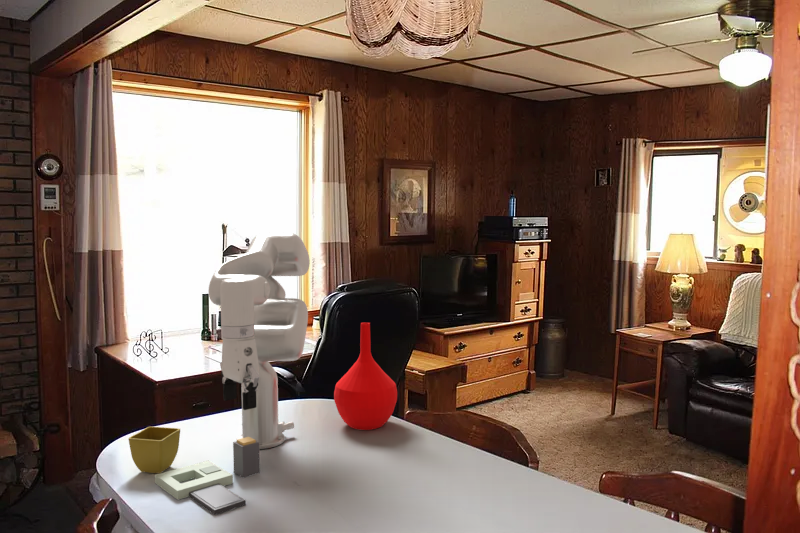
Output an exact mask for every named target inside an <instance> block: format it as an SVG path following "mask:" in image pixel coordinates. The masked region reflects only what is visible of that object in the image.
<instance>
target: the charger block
mask: <svg viewBox="0 0 800 533" xmlns="http://www.w3.org/2000/svg"><path fill="white" fill-rule="evenodd" d="M232 449H233V456H232V457H233V473H234V474H236V475H237V476H238V477H241V478H242V479H245V478H248V477H251V476H255V475H257V474H260V473H261V470H260V469H261V467H260V449H259V442H257V441H256V440H255V439H253V438H251V437H245V438H241V439H237V438H236V441H233V442H232Z"/></svg>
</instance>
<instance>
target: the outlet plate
mask: <svg viewBox="0 0 800 533" xmlns="http://www.w3.org/2000/svg"><path fill="white" fill-rule="evenodd" d="M233 478H234V475H233V473H231V472H229V471H227V470H225V469H224V468H222V467H220V466H218V465H217V464H216V463H213V461H210V460H205V461H201V462H197V463H193V464H190V465H186V466H183V467H179V468H175V469H171V470H168V471H163V472H161V473H155V474H154V482H155V484H156V485H157V486H158V487H159V488H160V489H162V490H163V491H165V492H166V493H168V494H169V495H170V496H172V497H173V498H175V500H177V501H179V500H181V499H185V498H188V497H189V492H191V491H194V490H198V489H201V488H204V487H208V486H211V485H214V484H218V483H219V484H221V485H222V486H224V487H225V486H226V487H227V486H229V485H232V484H233V483H234V479H233ZM185 481H186V482H185ZM189 498H190V497H189Z"/></svg>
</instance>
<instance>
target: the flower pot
mask: <svg viewBox="0 0 800 533" xmlns="http://www.w3.org/2000/svg"><path fill="white" fill-rule="evenodd" d="M180 436H181V428H178V427H177V428H176V427H165V426H164V427H163V426H147V427H146V428H144V429H142V430H141V431H139V432H136V433H135V434H133V435H131V436H130V437H128V444H129V448H130V456H131V458H132V461H133V463H134V465H135V466H136V468H137V469H138V470H139V471H140V472H141V473H149V474H160V473H163V472H165V471H166V470H167V469H168V468H170V467H171V466H172V464H174V461H175V459H176V457H177V455H178V451H179V448H180V447H179V446H180V438H181V437H180Z"/></svg>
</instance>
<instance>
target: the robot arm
mask: <svg viewBox="0 0 800 533" xmlns="http://www.w3.org/2000/svg"><path fill="white" fill-rule="evenodd" d="M309 269H310V254H309V252H308V250H307V247H306V245H305V243H304V242H303V240H302V239H301V237H300V236H299V235H298V234H295V233H292V232H283V233H281V232H276V233H275V232H274V233H273V232H267V233H259V234H258V235H255V236H254V237H253V239H252V240H251V242H250V244H249V245H248V247H247V248H246V251H245V252H244V254H241V255H240V256H236V257H235V258H233V259H230V260H227V261H226V262H223V263H221V265H219V266H218V267H217V268H216V270H215V271H214V273H213V275H212V277H211V279H210V282H209V285H208V296H209V299H210V301H211V302H212V303H213V304H214V305H216V306H218V307H219V306H220V324H221V326H220V328H221V330H220V331H221V334H220V335H221V340H222V346H221V348H222V349H221V362H220V363H219V365H220V371H221V373H220V374H221V378H222V380H221V382H222V391H223V395H222V396H223V398H222V399H223V401H226V402H227V401H232V400H236V399H237V397H238V394H237V383H238V384H241V421H242V422H241V423H242V424H241V425H242V429H241V430H242V434H240V435H238V437H237V438H236V440H237V439H241V438H245V437H251V438H253V439H255V440H256V441H257V442H259V450H265V449H270V448H275V447H277V446H279V445H282V444H283V443H284V442H285V439H286V438H285V435H284V432H285V431H286V430H287V431H288V430H293V429H295V423H294V422H293V421H289V422H286V423H285V421H279V388H278V385H279V383H278V382H279V380H278V379H279V378H278V374H277V372H276V370H275V369H274V367H273V366H272V364H271V363H270V362H291V361H292V362H294V361H297V360H299V359H300V358H301V357H302V355H303V351H304V349H305V348H304V347H305V342H306V335H307V329H308V320H309V311H308V306H307V304H306V302H305V301H304V300H302V299H300V298H293V297H291V298H289V297H287V298H286V290H285V289H284V287H283V286H282V285H281V283H279V281H277V279H275V278H274V277H302V276H305V275H306V274H307V273H308V272H309Z"/></svg>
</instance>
